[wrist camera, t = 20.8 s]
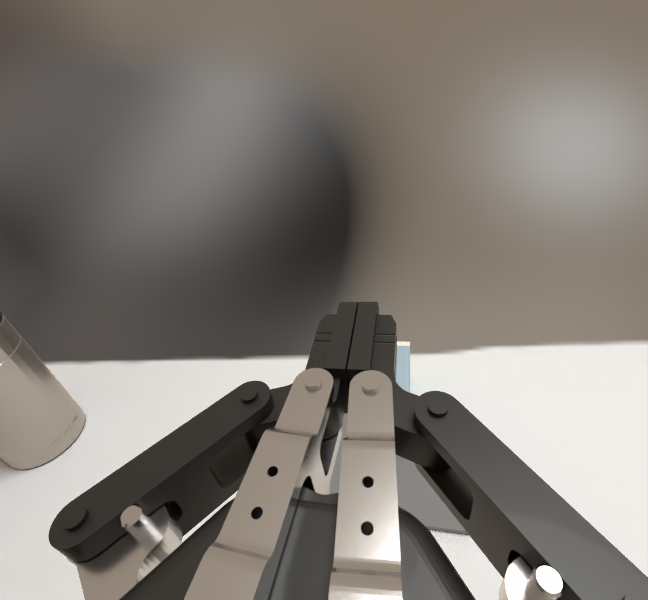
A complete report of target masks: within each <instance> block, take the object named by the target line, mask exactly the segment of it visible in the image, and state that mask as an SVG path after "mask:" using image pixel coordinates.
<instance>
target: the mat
mask: <svg viewBox="0 0 648 600" xmlns="http://www.w3.org/2000/svg"><path fill="white" fill-rule="evenodd" d="M347 416H348V413H344V417H343V423H342V436H341V440H340V444H339V448H338V452H337V456H336V460H335V464H334V468H333V472H332V476H331V481H330V494H334V493H339V484H340V470H341V457H342V445H343V439H344V438H346V430H347ZM396 476H397V497H398V506H399V507H401V508H403V509H404V510H406V511H408V512H409V513H411V514H412V515H413V516H415V517H416V518H417V519H418V520H419V521H420V522H422V523H423V524H424V525H425V527H426V528H427V529H430V530H438V531H445V532H452V533H460V534H467V535H469V534H468V533H467V531H466V530H465V529H464V528H463V526H462V525H461V524H460V523H459V521H458V520H457V519H456V518H455V516H454V515H453V514H452V513H451V511H450V510H449V509H448V507H447V506H446V505H445V504H444V502H443V501H442V500H441V499H440V497H439V496H438V495H437V494H436V492H435V491H434V490H433V488H432V487H431V486H430V485H429V483H428V482H427V481H426V480H425V478H424V477H423V476H422V475H421V473H420V472H419V471H418V469H417V468H416V466H415V463H414V462H412V461H409V460H407V459H405V458H402V457H400V456H398V455H396Z"/></svg>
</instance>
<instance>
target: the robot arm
mask: <svg viewBox="0 0 648 600" xmlns="http://www.w3.org/2000/svg"><path fill="white" fill-rule="evenodd" d="M316 333H317V334H316V336H315V339H314V343H313V346H312V350H311V353H310V356H309V359H308V363H307V366H306V370H305V371H303V372H301V373H300V374H299V375H298V376H297V377H296V378H295V380H294V382H293V383H292V384H290V385H288V386H284V387H280V388H275V389H271V390H270V389H269V387H268V386H267V385H266V384H265V383H263V382H261V381H250V382H246V383H244V384H242V385H240V386H239V387H237V388H236V389H234V390H233V391H232V392H230V393H229V394H227V395H226V396H224V397H223V398H221V399H220V400H218V401H217V402H215V403H214V404H213V405H211V406H210V407H208V408H207V409H205V410H204V411H202V412H201V413H199V414H198V415H197V416H195V417H194V418H192V419H191V420H189V421H188V422H186V423H185V424H183V425H182V426H180V427H179V428H178V429H176V430H175V431H173V432H172V433H170V434H169V435H167V436H166V437H164V438H163V439H162V440H160V441H159V442H157V443H156V444H154V445H153V446H151V447H150V448H148V449H147V450H145V451H144V452H143V453H141V454H140V455H138V456H137V457H135V458H134V459H132V460H131V461H129V462H128V463H127V464H125V465H124V466H122V467H121V468H119V469H118V470H116V471H115V472H113V473H112V474H110V475H109V476H108V477H106V478H105V479H103V480H102V481H100V482H99V483H97V484H96V485H94V486H93V487H92V488H90V489H89V490H87V491H86V492H84V493H83V494H81V495H80V496H78V497H77V498H76V499H74V500H73V501H71V502H70V503H69V504H67V505H66V506H65V507H64V508H63V509H62V510H61V511H60V512H59V514H58V515H57V516H56V518H55V519H54V521H53V523H52V525H51V528H50V531H49V542H50V544H51V545H52V546H53V547H54V548H55V549H57V550H58V551H60V552H61V553H62V554H64V555H65V556H66V557H67V559H68V560H69V561H70V562H72V563H73V564H74V565H76V566H77V569H78V573H79V577H80V581H81V585H82V589H83V593H84V596H85V600H475V598H474V597H473V595H472V593H471V592H470V590H469V589H468V587H467V586H466V584H465V583H464V581H463V580H462V578H461V577H460V575H459V574H458V572H457V571H456V569H455V568H454V566H453V565H452V563H451V562H450V560H449V559H448V557H447V556H446V554H445V553H444V551H443V550H442V548H441V547H440V545H439V544H438V542H437V541H436V539H435V538H434V537H433V535H432V534H431V532H430V531H429V530H428V529H427V528H426V527H425V525H424V524H423V523H422V522H420V521H419V520H418V519H417V518H416V517H415V516H413V515H412V514H411V513H409V512H408V511H406V510H404V509H403V508H401V507H399V506H398V497H397V476H396V455H398V456H400V457H402V458H405V459H407V460H409V461H412V462H414V463H415V466H416V468H417V469H418V471H419V472H420V473H421V475H422V476H423V477H424V478H425V480H426V481H427V482H428V483H429V485H430V486H431V487H432V488H433V490H434V491H435V492H436V494H437V495H438V496H439V497H440V499H441V500H442V501H443V502H444V504H445V505H446V506H447V507H448V509H449V510H450V511H451V513H452V514H453V515H454V516H455V518H456V519H457V520H458V521H459V523H460V524H461V525H462V526H463V528H464V529H465V530H466V531H467V533H468V534H469V535H470V537H471V538H472V539H473V540H474V542H475V543H476V544H477V545H478V547H479V548H480V549H481V550H482V552H483V553H484V554H485V556H486V557H487V558H488V559H489V561H490V562H491V563H492V564H493V566H494V567H495V568H496V569H497V571H498V572H499V573H500V574H501V576H502V577H503V578H504V579H503V582H502V584H501V587H500V590H499V600H648V577H647V576H646V575H644V574H643V573H642V572H641V571H640V570H639V569H638V568H637V567H636V566H635V565H634V564H633V563H632V562H630V561H629V560H628V559H627V558H626V557H625V556H624V555H623V554H622V553H621V552H620V551H619V550H618V549H617V548H615V547H614V546H613V545H612V544H611V543H610V542H609V541H608V540H607V539H606V538H605V537H604V536H603V535H601V534H600V533H599V532H598V531H597V530H596V529H595V528H594V527H593V526H592V525H591V524H590V523H589V522H587V521H586V520H585V519H584V518H583V517H582V516H581V515H580V514H579V513H578V512H577V511H576V510H575V509H574V508H572V507H571V506H570V505H569V504H568V503H567V502H566V501H565V500H564V499H563V498H562V497H561V496H560V495H558V494H557V493H556V492H555V491H554V490H553V489H552V488H551V487H550V486H549V485H548V484H547V483H546V482H545V481H543V480H542V479H541V478H540V477H539V476H538V475H537V474H536V473H535V472H534V471H533V470H532V469H531V468H529V467H528V466H527V465H526V464H525V463H524V462H523V461H522V460H521V459H520V458H519V457H518V456H517V455H515V454H514V453H513V452H512V451H511V450H510V449H509V448H508V447H507V446H506V445H505V444H504V443H503V442H502V441H500V440H499V439H498V438H497V437H496V436H495V435H494V434H493V433H492V432H491V431H490V430H489V429H488V428H486V427H485V426H484V425H483V424H482V423H481V422H480V421H479V420H478V419H477V418H476V417H475V416H474V415H473V414H471V413H470V412H469V411H468V410H467V409H466V408H465V407H464V406H463V405H462V404H461V403H460V402H459V401H457V400H456V399H455V398H454V397H453V396H451V395H449V394H447V393H444V392H440V391H430V392H426V393H424V394H422V395H421V396H417V395H415V394H412V393H409V392H407V391H405V390H404V389H402V388H401V387H400V386H399V385H398V384H397V382H396V366H397V336H396V323H395V321H394V319H393V318H392V316H391V315H379V306H378V302H359V303H358V302H340V303H339V306H338V310H337V314H336V315H326V316H325V317H324V318H323V319H322V321H321V322H320V323H319V326H318V329H317V332H316ZM344 413H348V416H347V430H346V438H344V439H343V445H342V457H341V470H340V484H339V493H334V494H330V481H331V476H332V472H333V468H334V464H335V460H336V456H337V452H338V448H339V444H340V440H341V436H342V423H343V417H344ZM84 423H85V414H84V412H83V410H82V409H81V408H80V407H79V405H78V404H77V403H76V402H75V401H74V399H73V398H72V397H71V396H70V395H69V393H68V392H67V391H66V390H65V388H64V387H63V386H62V385H61V384H60V382H59V381H58V380H57V379H56V378H55V376H54V375H53V374H52V373H51V372H50V370H49V369H48V368H47V367H46V366H45V364H44V363H43V362H42V361H41V360H40V358H39V357H38V356H37V355H36V354H35V353H34V351H33V350H32V349H31V348H30V347H29V345H28V344H27V343H26V342H25V341H24V339H23V338H22V337H21V336H20V335H19V333H18V332H17V331H16V330H15V329H14V328H13V326H12V325H11V324H10V323H9V322H8V320H7V319H6V318H5V317H4V316H3V314H2V313H1V312H0V458H1V459H2V460H4V461H5V462H6V463H7V464H8V465H10V466H11V467H13V468H15V469H21V470H22V469H30V468H34V467H37V466H40V465H42V464H44V463H47V462H48V461H50V460H52V459H54V458H55V457H57V456H58V455H59V454H61V453H62V452H63V451H65V450H66V449H67V448H68V447H69V446H70V445H71V444H72V443H73V442H74V441H75V440H76V438H77V437H78V436H79V434H80V433H81V431H82V429H83V427H84ZM236 491H238V492H237V495H236V497H235V498H234V499H232V500H231V501H230V502H228V503H227V504H226V505H224V506H223V507H222V508H221V509H220V510H219V511H218V512H216V513H215V514H214V515H213V516H212V517H211V518H210V519H209V520H207V521H206V522H205V523H204V524H203V525H202V526H201V527H200V528H199V529H197V530H196V531H195V532H194V533H193V534H192V535H191V536H190V537H188V538H187V539H186V540H185V541H184V542H183V543H182V544H181V541H182V537H183V536H184V535H185V534H186V533H188V532H189V531H190V530H191V529H192V528H193V527H195V526H196V525H197V524H198V523H199V522H201V521H202V520H203V519H204V518H205V517H207V516H208V515H209V514H210V513H211V512H213V511H214V510H215V509H216V508H217V507H218V506H220V505H221V504H222V503H223V502H224V501H226V500H227V499H228V498H229V497H230V496H232V495H233V494H234V493H235V492H236Z"/></svg>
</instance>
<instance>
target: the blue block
mask: <svg viewBox="0 0 648 600" xmlns="http://www.w3.org/2000/svg"><path fill="white" fill-rule="evenodd" d="M396 382H397V384H398V385H399V386H400V387H401V388H402V389H404V390H405V391H407V392H409V393H410V342H397V366H396Z"/></svg>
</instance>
